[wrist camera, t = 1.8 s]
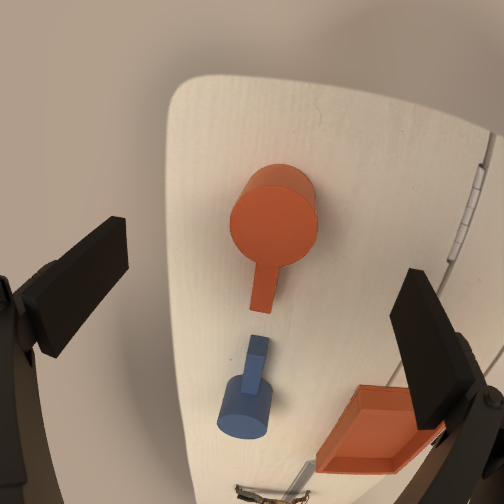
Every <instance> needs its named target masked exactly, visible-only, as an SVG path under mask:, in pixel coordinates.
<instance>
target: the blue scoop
mask: <svg viewBox="0 0 504 504" xmlns="http://www.w3.org/2000/svg"><path fill="white" fill-rule="evenodd" d="M268 342H269V338H266V337H260V336H255V335H251V338H250V342H249V346H248V351H247V356H246V362H245V368H244V374H243V375H238V376H235V377H233V378H231V379H230V380H229V381H228V383H227V387H226V391H225V394H224V398H223V402H222V406H221V409H220V413H219V417H218V420H217V425H218V427H219V429H220V430H221V431H223V432H224V433H226V434H228V435H230V436H232V437H236V438H240V439H257V438H260V437H262V436H264V435H265V434H266V432H267V427H268V420H269V413H270V407H271V400H272V393H273V390H272V387H271V385H270V384H269V383H268V382H267V381H265V380H264V379H262V378H261V376H262V372H263V368H264V363H265V359H266V354H267V348H268Z"/></svg>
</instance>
